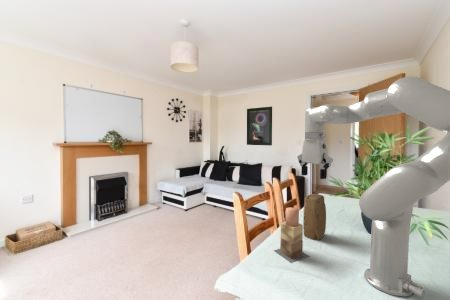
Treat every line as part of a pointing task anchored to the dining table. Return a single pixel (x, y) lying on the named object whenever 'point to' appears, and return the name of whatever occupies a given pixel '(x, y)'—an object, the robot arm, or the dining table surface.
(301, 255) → the mat
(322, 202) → the block
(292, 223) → the peach egg-shaped pebble
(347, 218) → the dining table surface
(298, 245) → the block
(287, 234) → the tower top
